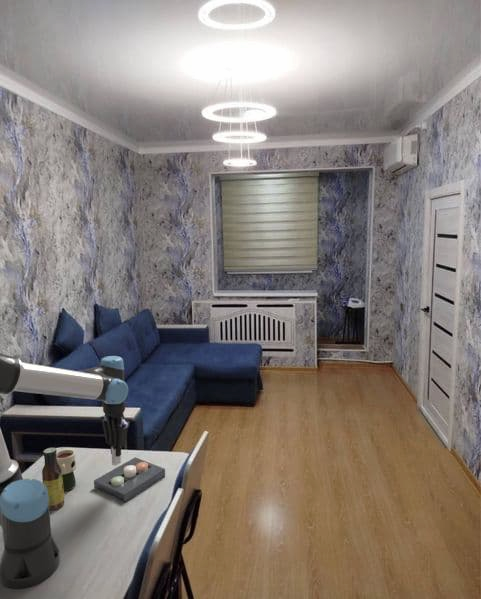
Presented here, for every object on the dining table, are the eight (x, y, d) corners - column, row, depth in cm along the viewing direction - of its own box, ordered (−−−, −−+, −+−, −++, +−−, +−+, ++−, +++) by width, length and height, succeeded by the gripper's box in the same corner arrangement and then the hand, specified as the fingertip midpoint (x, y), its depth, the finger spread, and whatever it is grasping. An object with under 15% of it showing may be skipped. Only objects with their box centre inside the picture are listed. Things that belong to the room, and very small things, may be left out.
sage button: (117, 493, 157) (116, 484, 157) (108, 489, 160) (108, 480, 159) (126, 487, 161) (126, 478, 161) (118, 483, 164) (118, 474, 163)
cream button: (130, 481, 162) (129, 472, 162) (121, 478, 165) (121, 469, 164) (138, 476, 166) (138, 467, 165) (130, 472, 168) (130, 463, 168)
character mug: (75, 494, 158) (73, 459, 156) (54, 497, 156) (51, 462, 154) (78, 477, 169) (76, 445, 167) (58, 480, 167) (55, 448, 165)
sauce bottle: (68, 505, 152) (64, 450, 149) (49, 513, 147) (45, 457, 144) (59, 497, 156) (55, 444, 153) (41, 505, 152) (36, 450, 149)
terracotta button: (142, 477, 167) (141, 469, 167) (134, 474, 170) (133, 465, 169) (150, 472, 171) (150, 464, 170) (142, 469, 173) (142, 460, 173)
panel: (124, 502, 153) (124, 494, 152) (94, 488, 162) (93, 480, 161) (165, 476, 169) (164, 468, 169) (135, 464, 178) (135, 457, 178)
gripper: (134, 400, 156) (137, 464, 159) (110, 393, 163) (112, 454, 166) (118, 407, 149) (120, 473, 153) (92, 399, 157) (95, 462, 160)
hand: (116, 463), depth 159 cm, fingers closed
